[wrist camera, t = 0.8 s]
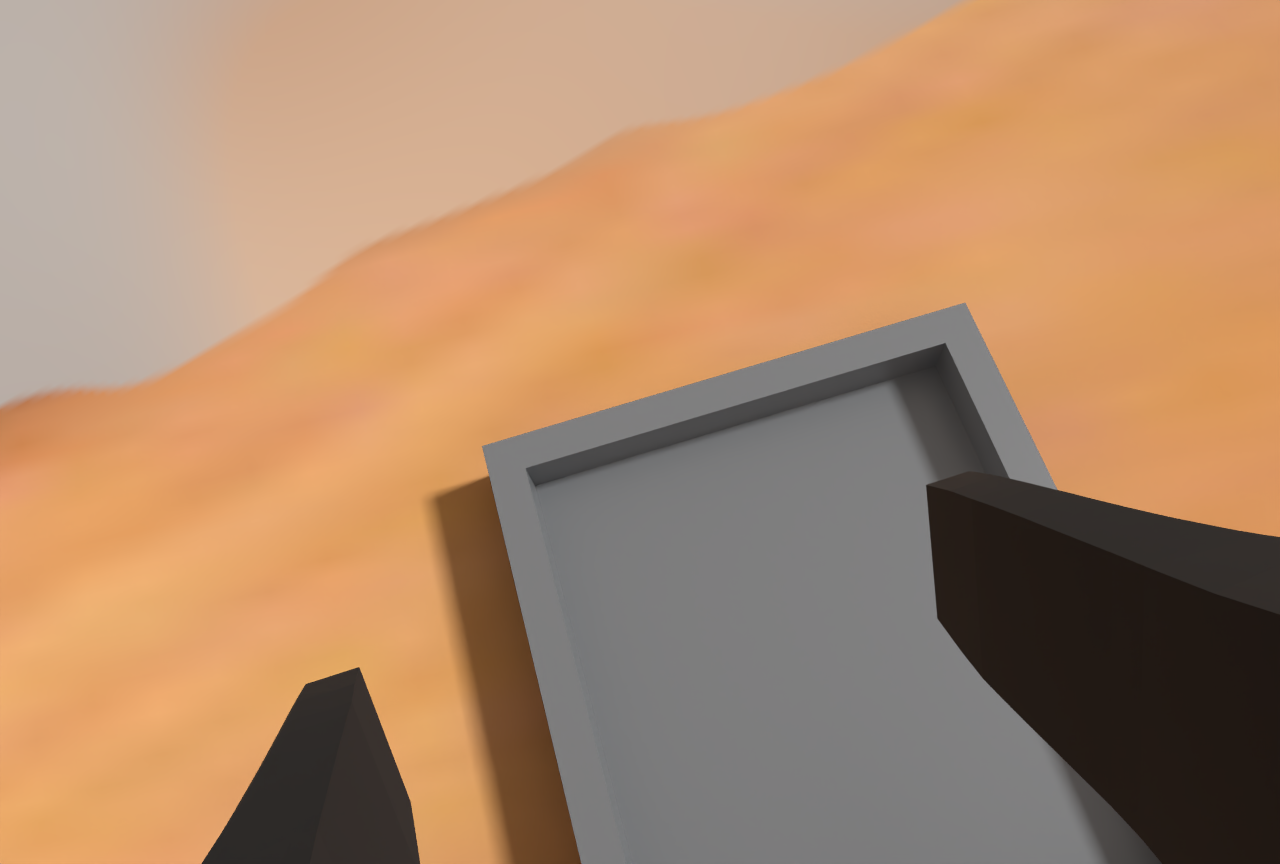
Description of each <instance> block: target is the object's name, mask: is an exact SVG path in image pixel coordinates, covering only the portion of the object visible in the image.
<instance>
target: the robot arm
mask: <svg viewBox="0 0 1280 864" xmlns="http://www.w3.org/2000/svg"><path fill="white" fill-rule="evenodd" d="M926 491H927V503H928V515H929V527H930V538H931V550H932V562H933V574H934V586H935V597H936V609H937V619H938V620H939V622H940V623H941V624H942V626H943V627H944V628H945V630H946V631H947V633H948V634H949V635H950V637H951V638H952V639H953V641H954V642H955V643H956V645H957V646H958V648H959V649H960V650H961V652H962V653H963V654H964V655H965V657H966V658H967V659H968V661H969V662H970V663H971V664H972V666H973V667H974V668H975V669H976V671H977V672H978V673H979V674H980V676H981V677H982V678H983V679H984V680H985V681H986V682H987V684H988V685H989V686H990V687H991V688H992V689H993V690H994V691H995V692H996V693H997V694H998V695H999V696H1000V697H1001V698H1002V699H1003V700H1004V701H1005V702H1006V703H1007V704H1008V705H1009V706H1010V707H1011V708H1012V709H1013V710H1014V711H1015V712H1016V713H1017V714H1018V715H1019V716H1020V717H1021V718H1022V719H1023V720H1024V721H1025V722H1026V723H1027V724H1028V725H1029V726H1030V727H1031V728H1032V729H1033V730H1034V731H1035V732H1036V733H1037V734H1038V735H1039V736H1040V737H1041V738H1042V739H1043V740H1044V741H1045V742H1046V743H1047V744H1048V745H1049V746H1050V747H1051V748H1052V749H1053V750H1054V751H1055V752H1056V753H1058V754H1059V755H1060V756H1061V757H1062V758H1063V759H1064V760H1065V761H1066V762H1067V763H1068V764H1069V765H1070V766H1071V767H1072V768H1073V769H1074V770H1075V771H1076V772H1077V773H1078V774H1079V775H1080V776H1081V777H1082V778H1083V779H1084V780H1085V781H1086V782H1087V783H1088V784H1089V785H1090V786H1091V787H1092V788H1093V789H1094V790H1095V791H1096V792H1097V793H1098V794H1099V795H1100V796H1101V797H1102V798H1103V799H1104V800H1105V801H1106V802H1107V803H1108V804H1109V805H1110V806H1111V807H1112V808H1113V809H1114V810H1115V811H1116V812H1117V813H1118V814H1119V815H1120V816H1121V817H1122V818H1123V820H1124V821H1125V822H1126V823H1127V824H1128V825H1129V826H1130V827H1131V828H1132V829H1133V830H1134V831H1135V832H1136V833H1137V834H1138V836H1139V837H1140V838H1141V839H1142V840H1143V841H1144V843H1145V844H1146V845H1147V846H1148V847H1149V849H1150V850H1151V851H1152V852H1153V853H1154V855H1155V856H1156V857H1157V858H1158V859H1159V861H1160V862H1161V863H1162V864H1280V537H1275V536H1267V535H1261V534H1255V533H1249V532H1243V531H1237V530H1232V529H1226V528H1221V527H1216V526H1211V525H1206V524H1201V523H1196V522H1191V521H1186V520H1181V519H1176V518H1172V517H1167V516H1163V515H1158V514H1154V513H1149V512H1145V511H1140V510H1136V509H1132V508H1128V507H1123V506H1119V505H1115V504H1111V503H1107V502H1103V501H1099V500H1095V499H1091V498H1087V497H1083V496H1079V495H1075V494H1071V493H1067V492H1063V491H1059V490H1055V489H1051V488H1047V487H1043V486H1039V485H1035V484H1031V483H1027V482H1023V481H1018V480H1014V479H1010V478H1005V477H1001V476H996V475H991V474H985V473H979V472H972V471H968V472H965V473H961V474H958V475H955V476H952V477H949V478H946V479H943V480H940V481H937V482H933V483H930V484H927V485H926ZM202 864H420V860H419V853H418V846H417V840H416V833H415V827H414V820H413V814H412V808H411V802H410V799H409V797H408V794H407V791H406V789H405V786H404V783H403V781H402V778H401V776H400V773H399V770H398V768H397V765H396V762H395V760H394V757H393V755H392V752H391V749H390V747H389V744H388V742H387V739H386V736H385V734H384V731H383V728H382V726H381V723H380V721H379V718H378V715H377V713H376V710H375V707H374V705H373V702H372V700H371V697H370V694H369V692H368V689H367V686H366V684H365V681H364V679H363V676H362V673H361V671H360V668H359V667H358V668H355V669H352V670H349V671H346V672H343V673H339V674H336V675H333V676H330V677H327V678H324V679H321V680H318V681H315V682H311V683H308V684H306V685H305V686H304V688H303V690H302V691H301V693H300V695H299V696H298V698H297V700H296V702H295V703H294V705H293V707H292V709H291V711H290V712H289V714H288V716H287V718H286V720H285V722H284V724H283V725H282V727H281V729H280V731H279V733H278V735H277V737H276V739H275V740H274V742H273V744H272V746H271V748H270V750H269V751H268V753H267V755H266V757H265V759H264V761H263V762H262V764H261V766H260V768H259V770H258V771H257V773H256V775H255V777H254V778H253V780H252V782H251V784H250V785H249V787H248V789H247V790H246V792H245V794H244V796H243V797H242V799H241V801H240V803H239V804H238V806H237V808H236V809H235V811H234V813H233V815H232V816H231V818H230V820H229V821H228V823H227V825H226V826H225V828H224V830H223V831H222V833H221V835H220V836H219V838H218V839H217V841H216V842H215V844H214V845H213V847H212V848H211V850H210V852H209V853H208V855H207V856H206V858H205V859H204V861H203V862H202Z"/></svg>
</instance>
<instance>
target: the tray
mask: <svg viewBox="0 0 1280 864" xmlns="http://www.w3.org/2000/svg"><path fill="white" fill-rule="evenodd" d="M482 448H483V452H484V456H485V460H486V464H487V469H488V473H489V477H490V481H491V485H492V490H493V494H494V498H495V502H496V507H497V511H498V515H499V519H500V523H501V528H502V532H503V536H504V540H505V544H506V549H507V553H508V557H509V561H510V565H511V570H512V574H513V578H514V582H515V587H516V591H517V595H518V599H519V603H520V608H521V612H522V616H523V620H524V624H525V629H526V633H527V637H528V641H529V645H530V650H531V654H532V658H533V662H534V667H535V671H536V675H537V679H538V683H539V688H540V692H541V696H542V700H543V704H544V709H545V713H546V717H547V721H548V725H549V730H550V734H551V738H552V742H553V747H554V751H555V755H556V759H557V763H558V768H559V772H560V776H561V780H562V784H563V789H564V793H565V797H566V801H567V805H568V810H569V814H570V818H571V822H572V827H573V831H574V835H575V839H576V843H577V848H578V852H579V856H580V860H581V864H1162V863H1161V862H1160V861H1159V859H1158V858H1157V857H1156V856H1155V855H1154V853H1153V852H1152V851H1151V850H1150V849H1149V847H1148V846H1147V845H1146V844H1145V843H1144V841H1143V840H1142V839H1141V838H1140V837H1139V836H1138V834H1137V833H1136V832H1135V831H1134V830H1133V829H1132V828H1131V827H1130V826H1129V825H1128V824H1127V823H1126V822H1125V821H1124V820H1123V818H1122V817H1121V816H1120V815H1119V814H1118V813H1117V812H1116V811H1115V810H1114V809H1113V808H1112V807H1111V806H1110V805H1109V804H1108V803H1107V802H1106V801H1105V800H1104V799H1103V798H1102V797H1101V796H1100V795H1099V794H1098V793H1097V792H1096V791H1095V790H1094V789H1093V788H1092V787H1091V786H1090V785H1089V784H1088V783H1087V782H1086V781H1085V780H1084V779H1083V778H1082V777H1081V776H1080V775H1079V774H1078V773H1077V772H1076V771H1075V770H1074V769H1073V768H1072V767H1071V766H1070V765H1069V764H1068V763H1067V762H1066V761H1065V760H1064V759H1063V758H1062V757H1061V756H1060V755H1059V754H1058V753H1056V752H1055V751H1054V750H1053V749H1052V748H1051V747H1050V746H1049V745H1048V744H1047V743H1046V742H1045V741H1044V740H1043V739H1042V738H1041V737H1040V736H1039V735H1038V734H1037V733H1036V732H1035V731H1034V730H1033V729H1032V728H1031V727H1030V726H1029V725H1028V724H1027V723H1026V722H1025V721H1024V720H1023V719H1022V718H1021V717H1020V716H1019V715H1018V714H1017V713H1016V712H1015V711H1014V710H1013V709H1012V708H1011V707H1010V706H1009V705H1008V704H1007V703H1006V702H1005V701H1004V700H1003V699H1002V698H1001V697H1000V696H999V695H998V694H997V693H996V692H995V691H994V690H993V689H992V688H991V687H990V686H989V685H988V684H987V682H986V681H985V680H984V679H983V678H982V677H981V676H980V674H979V673H978V672H977V671H976V669H975V668H974V667H973V666H972V664H971V663H970V662H969V661H968V659H967V658H966V657H965V655H964V654H963V653H962V652H961V650H960V649H959V648H958V646H957V645H956V643H955V642H954V641H953V639H952V638H951V637H950V635H949V634H948V633H947V631H946V630H945V628H944V627H943V626H942V624H941V623H940V622H939V620H938V619H937V609H936V597H935V586H934V574H933V562H932V550H931V538H930V527H929V515H928V503H927V491H926V485H927V484H930V483H933V482H937V481H940V480H943V479H946V478H949V477H952V476H955V475H958V474H961V473H965V472H968V471H972V472H979V473H985V474H991V475H996V476H1001V477H1005V478H1010V479H1014V480H1018V481H1023V482H1027V483H1031V484H1035V485H1039V486H1043V487H1047V488H1051V489H1055V490H1057V488H1056V486H1055V484H1054V482H1053V480H1052V478H1051V476H1050V474H1049V472H1048V470H1047V468H1046V466H1045V464H1044V462H1043V460H1042V458H1041V456H1040V453H1039V451H1038V449H1037V447H1036V445H1035V443H1034V441H1033V439H1032V437H1031V435H1030V433H1029V431H1028V429H1027V427H1026V425H1025V423H1024V421H1023V419H1022V417H1021V415H1020V413H1019V411H1018V409H1017V407H1016V405H1015V403H1014V401H1013V399H1012V397H1011V395H1010V393H1009V391H1008V389H1007V387H1006V384H1005V382H1004V380H1003V378H1002V376H1001V374H1000V372H999V370H998V368H997V366H996V364H995V362H994V360H993V358H992V356H991V354H990V352H989V350H988V348H987V346H986V344H985V342H984V340H983V338H982V336H981V334H980V332H979V330H978V328H977V326H976V324H975V322H974V320H973V317H972V315H971V313H970V311H969V309H968V307H967V305H966V303H962V304H959V305H956V306H952V307H949V308H946V309H942V310H939V311H936V312H932V313H929V314H925V315H922V316H919V317H915V318H912V319H909V320H905V321H902V322H898V323H895V324H892V325H888V326H885V327H882V328H878V329H875V330H872V331H868V332H865V333H861V334H858V335H855V336H851V337H848V338H845V339H841V340H838V341H835V342H831V343H828V344H824V345H821V346H818V347H814V348H811V349H808V350H804V351H801V352H798V353H794V354H791V355H787V356H784V357H781V358H777V359H774V360H771V361H767V362H764V363H760V364H757V365H754V366H750V367H747V368H744V369H740V370H737V371H734V372H730V373H727V374H723V375H720V376H717V377H713V378H710V379H707V380H703V381H700V382H697V383H693V384H690V385H686V386H683V387H680V388H676V389H673V390H670V391H666V392H663V393H659V394H656V395H653V396H649V397H646V398H643V399H639V400H636V401H633V402H629V403H626V404H622V405H619V406H616V407H612V408H609V409H606V410H602V411H599V412H596V413H592V414H589V415H585V416H582V417H579V418H575V419H572V420H569V421H565V422H562V423H559V424H555V425H552V426H548V427H545V428H542V429H538V430H535V431H532V432H528V433H525V434H521V435H518V436H515V437H511V438H508V439H505V440H501V441H498V442H495V443H491V444H488V445H484V446H482Z"/></svg>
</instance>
